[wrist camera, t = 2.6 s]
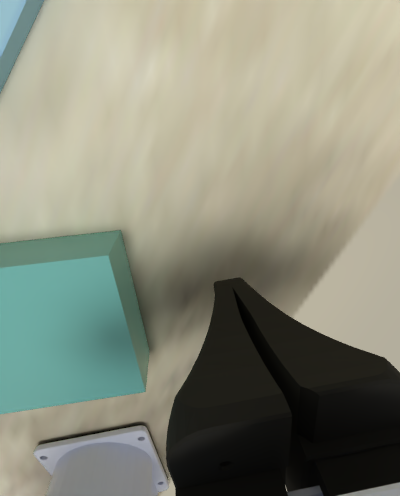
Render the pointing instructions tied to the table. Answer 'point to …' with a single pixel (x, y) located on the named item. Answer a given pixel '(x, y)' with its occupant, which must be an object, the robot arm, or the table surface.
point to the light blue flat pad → (14, 31)
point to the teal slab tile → (68, 322)
